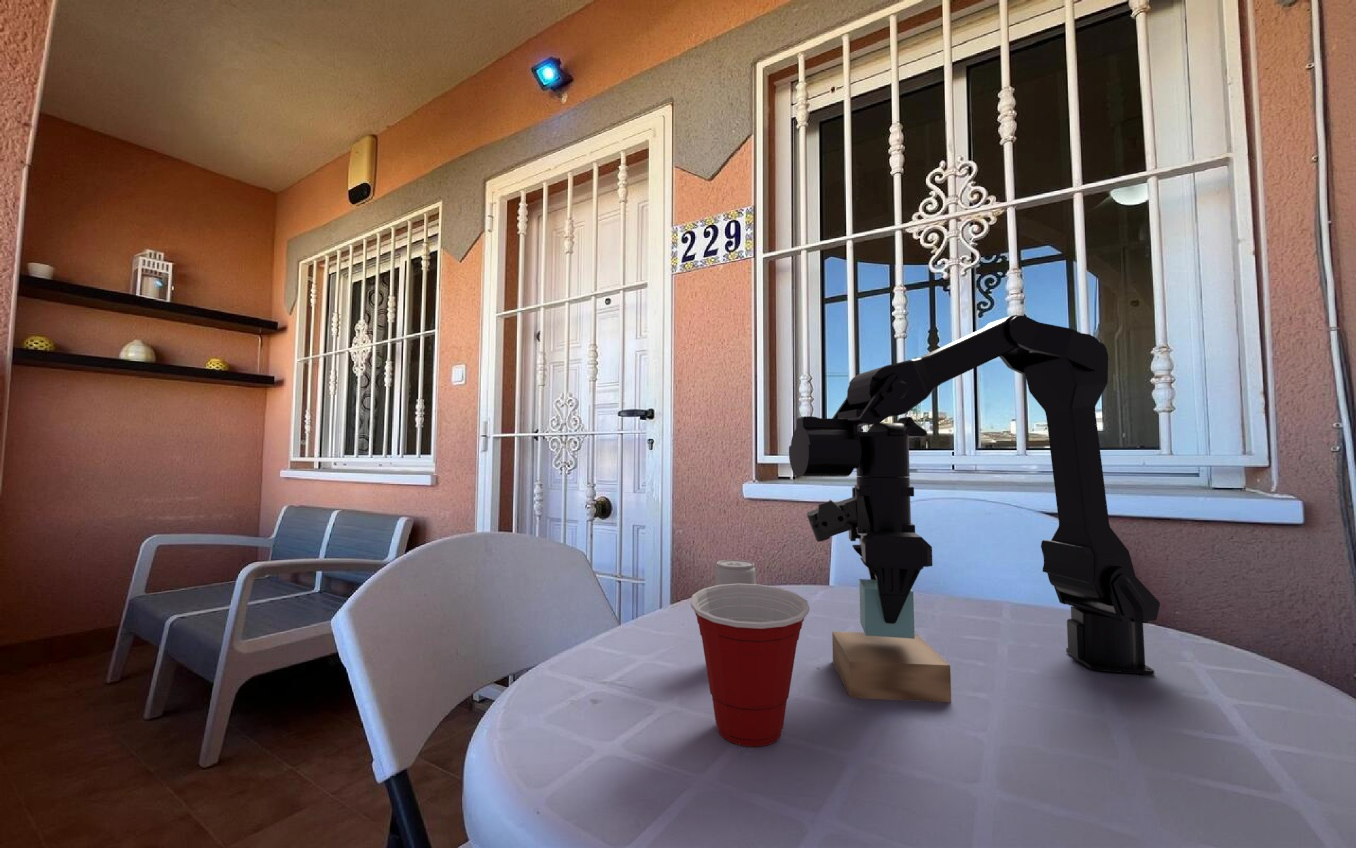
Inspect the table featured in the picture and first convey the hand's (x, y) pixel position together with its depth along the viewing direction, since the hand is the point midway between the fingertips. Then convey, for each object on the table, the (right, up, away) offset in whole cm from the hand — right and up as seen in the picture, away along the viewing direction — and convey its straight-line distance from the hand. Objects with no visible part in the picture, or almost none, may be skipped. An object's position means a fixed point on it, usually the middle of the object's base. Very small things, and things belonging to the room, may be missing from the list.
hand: (886, 616), depth 61 cm
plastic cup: (-17, -6, -12) cm, 22 cm away
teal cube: (0, -2, 0) cm, 2 cm away
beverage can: (-16, -7, +4) cm, 19 cm away
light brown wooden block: (0, -7, 0) cm, 7 cm away
